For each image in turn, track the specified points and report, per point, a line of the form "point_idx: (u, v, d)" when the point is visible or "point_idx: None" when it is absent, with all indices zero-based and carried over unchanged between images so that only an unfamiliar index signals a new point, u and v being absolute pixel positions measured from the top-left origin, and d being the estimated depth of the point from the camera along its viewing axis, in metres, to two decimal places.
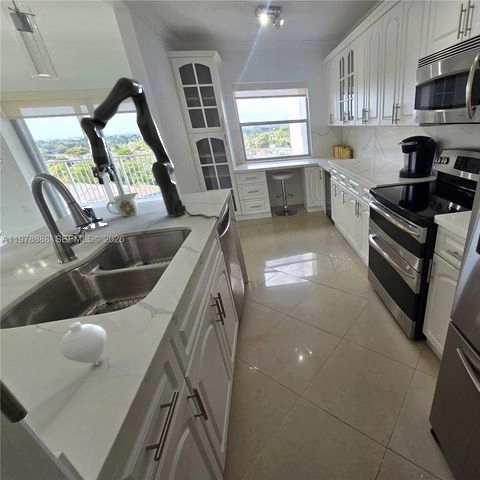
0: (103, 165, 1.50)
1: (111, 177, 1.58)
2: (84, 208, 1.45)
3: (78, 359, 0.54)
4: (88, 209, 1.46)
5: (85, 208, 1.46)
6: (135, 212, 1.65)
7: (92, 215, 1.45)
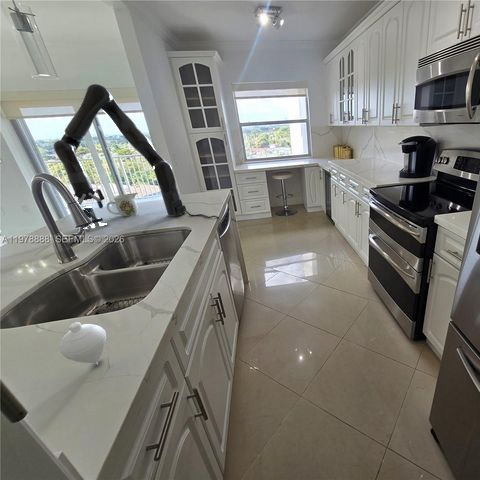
0: (82, 192, 1.36)
1: (98, 203, 1.43)
2: (84, 208, 1.45)
3: (78, 359, 0.54)
4: (88, 209, 1.46)
5: (85, 208, 1.46)
6: (135, 212, 1.65)
7: (92, 215, 1.45)
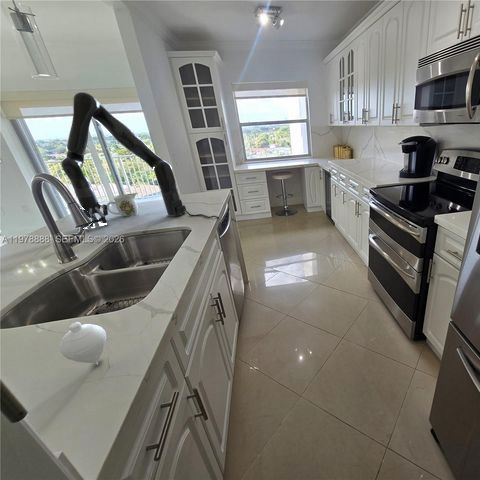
0: (89, 206, 1.39)
1: None
2: None
3: (78, 359, 0.54)
4: None
5: None
6: (135, 212, 1.65)
7: (92, 215, 1.45)
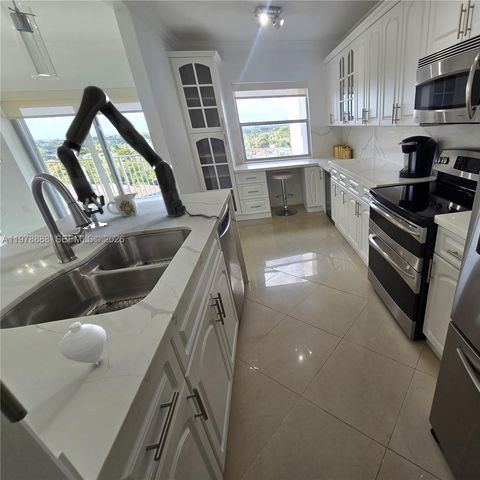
0: (85, 197, 1.36)
1: (99, 209, 1.43)
2: None
3: (78, 359, 0.54)
4: None
5: None
6: (135, 212, 1.65)
7: (90, 210, 1.43)
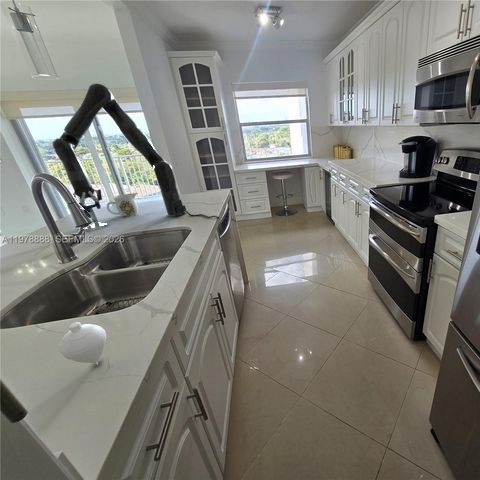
0: (82, 190, 1.35)
1: None
2: None
3: (78, 359, 0.54)
4: None
5: None
6: (135, 212, 1.65)
7: None
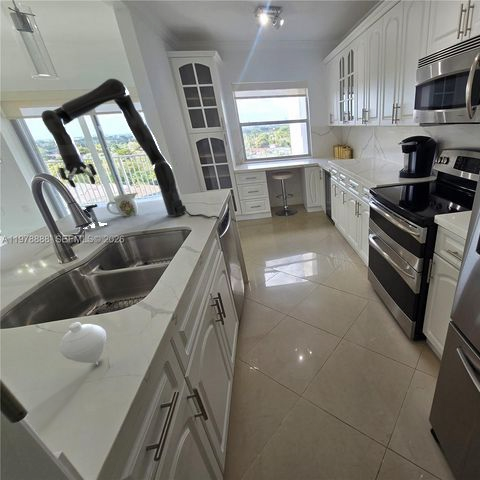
0: (74, 166, 1.32)
1: (90, 178, 1.40)
2: None
3: (78, 359, 0.54)
4: None
5: (85, 209, 1.46)
6: (135, 212, 1.65)
7: None
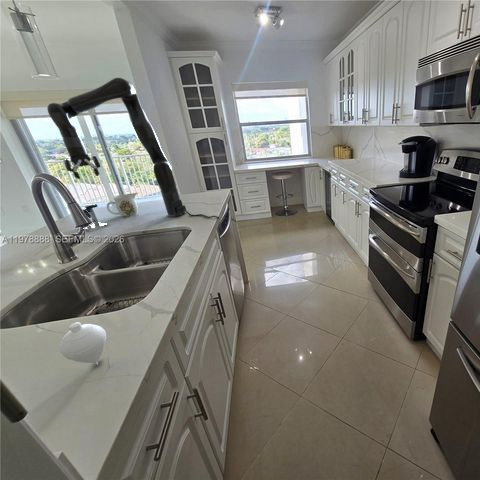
0: (78, 158, 1.36)
1: (94, 171, 1.43)
2: None
3: (78, 359, 0.54)
4: None
5: (85, 209, 1.46)
6: (135, 212, 1.65)
7: None
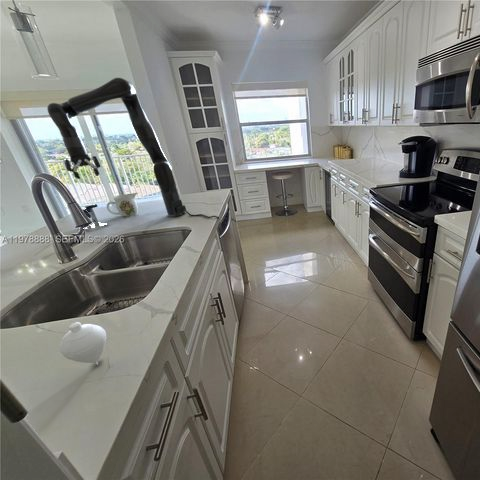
0: (78, 158, 1.36)
1: (94, 171, 1.43)
2: None
3: (78, 359, 0.54)
4: None
5: (85, 209, 1.46)
6: (135, 212, 1.65)
7: None
